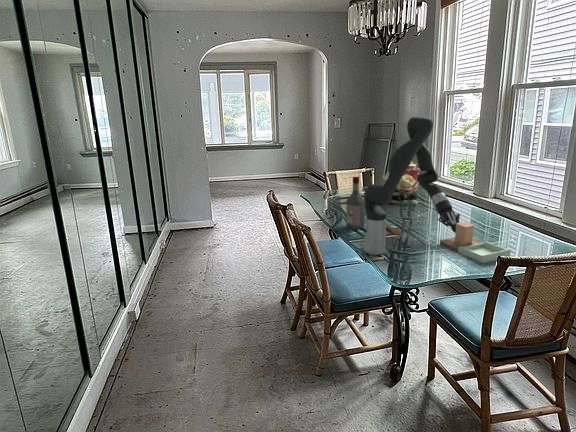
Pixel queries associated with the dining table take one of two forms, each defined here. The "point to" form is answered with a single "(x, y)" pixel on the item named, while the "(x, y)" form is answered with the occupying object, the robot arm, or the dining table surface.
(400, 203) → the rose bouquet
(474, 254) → the tray
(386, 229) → the primitive tool
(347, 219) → the liquor
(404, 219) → the dining table surface
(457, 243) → the board
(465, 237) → the salmon-coloured block
